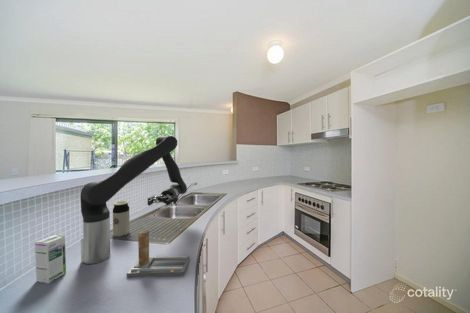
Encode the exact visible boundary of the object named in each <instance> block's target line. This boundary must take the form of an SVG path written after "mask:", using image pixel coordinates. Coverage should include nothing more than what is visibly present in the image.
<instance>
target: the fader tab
mask: <svg viewBox="0 0 470 313" xmlns="http://www.w3.org/2000/svg"><path fill="white" fill-rule="evenodd" d="M137 238H138V244H137V246H138V249H137V250H138V260H139V261H138V260H137V261H138V262H137V261H136V262H137V263H136V262H135V263H136V265H135V266H134V268H148V266H149V265H150V264H151V262H152V261H153V260H154V257H155V256H150V231H149V230H140V231H139V232H138V234H137ZM149 257H150V258H149Z"/></svg>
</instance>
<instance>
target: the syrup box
mask: <svg viewBox="0 0 470 313" xmlns="http://www.w3.org/2000/svg"><path fill="white" fill-rule="evenodd" d="M34 253H35V278H36V280H35V281H36V282H38V281H39V282H38V283H42V282H45V283H44V284H50V283H51V282H53V281H55V280H56V279H58V278H60V277H62V276H63V275H65V274H66V273H67V266H66V265H67V264H66V263H67V262H66V237H65V236H64V235H59V234H56V235H55V234H54V235H51V236H48V237H45V238H43V239H40V240H37V241H35V242H34ZM54 279H55V280H54Z"/></svg>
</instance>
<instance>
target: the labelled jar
mask: <svg viewBox="0 0 470 313" xmlns="http://www.w3.org/2000/svg"><path fill="white" fill-rule="evenodd" d="M128 234H130V205H129V201H128V200H121V201H119V200H118V201H116V202H114V203H113V208H112V235H114V236H113V237H116V236H119V237H123V235H124V236H127V235H128Z"/></svg>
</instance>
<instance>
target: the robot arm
mask: <svg viewBox="0 0 470 313" xmlns="http://www.w3.org/2000/svg"><path fill="white" fill-rule="evenodd" d="M177 147H178V139H177V138H176V137H175V136H173V135H159V136H158V137H157V138H156V140H155V146H153V147H151V148H149V149H146V150H142V151H140V152H138V153H136V154H135V155H133V156H131V157H130V158H129V159H127V160H126V161H125V162H124V163H122V165H121V166H120V167H119V168H118V170H117V171H116V172H114V174H112V175H110V176H109V177H106V178H105V179H104V180H101V181H100V182H98V181H91V182H89V183H87V184H85V185H84V186H83V187H82V189H81V191H80V211H81V212H80V213H81V215H82V225H83V226H82V227H83V228H82V230H83V233H82V234H83V238H81V239H80V255H81V256H80V261H81V263H84V264H86V265H92V264H98V263H100V262H103V261H105V260H106V259H108V258H109V257H110V255H111V218H110V216H111V211H110V210H109V208H108V206H107V202H109V200H111V199H112V198H113V197H114V196H116V194H117V193H118V192H119V191H120V190H121V189H123V188H124V187H125V186H126V185H127V184H129V183H130V182H132V181H133V180H134V179H136V178H137V177H138V176H140V175H142V173H144V172H145V171H146V170H148V169H149V168H150V167H152V166H153V165H154V164H155V163H156V162H158V161H159V160H160V159H162V161H163V163H164V165H165V167H166V171H167V174H168V177H169V181H170V182H171V183H174V184H172V185H170V186H169V187H168V188H166V189H165V190H163V191H161V193H160V194H159V195H157V196H156V195H152V196H150V197H147V206H152V205H153V204H160V203H162V204H165V205H166V206H169V205H171V204H173V203H174V204H176V203H177V202H178V201H179V196H180V195H183V194H184V195H185V194H186V193H187V191H188V186H187V184H186V183H185V181H184V179H183V177H182V174H181V171H180V168H179V165H178V163H176V161H175V160H174V158H173V156H172V154H171V152H173V151H174V150H176V148H177Z"/></svg>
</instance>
